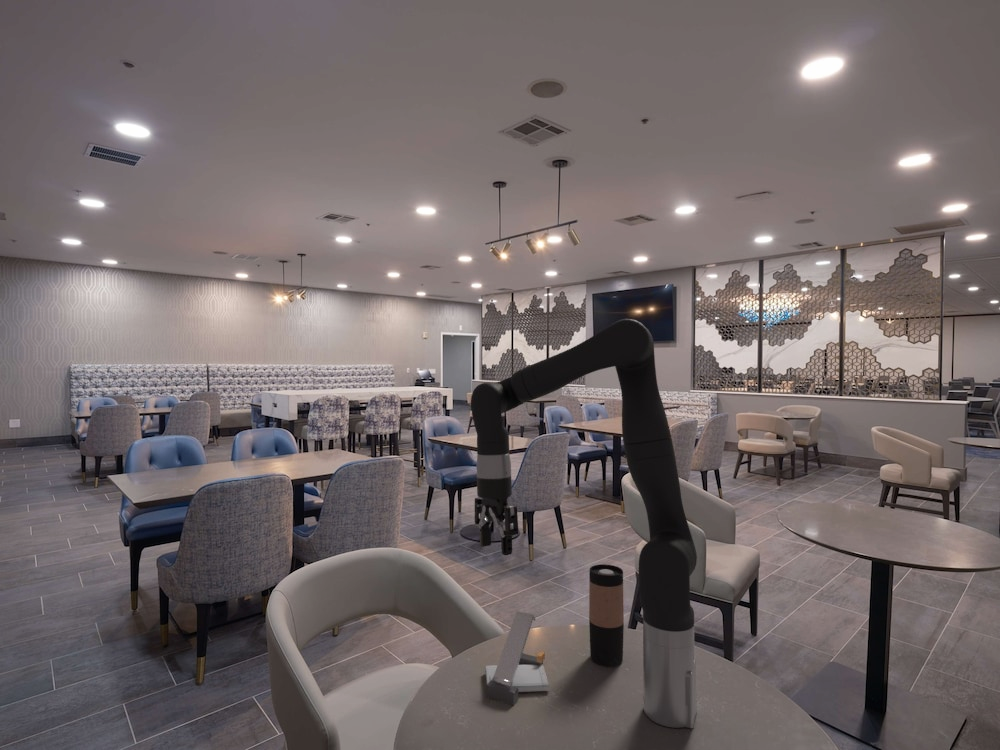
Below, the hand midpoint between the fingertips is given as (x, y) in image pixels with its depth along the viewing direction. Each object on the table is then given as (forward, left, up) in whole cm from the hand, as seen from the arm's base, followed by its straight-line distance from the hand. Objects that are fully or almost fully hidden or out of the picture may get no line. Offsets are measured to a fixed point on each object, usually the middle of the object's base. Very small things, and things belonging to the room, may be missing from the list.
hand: (496, 549), depth 115 cm
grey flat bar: (-6, +2, -20) cm, 20 cm away
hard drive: (-6, +2, -26) cm, 27 cm away
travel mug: (-20, -16, -26) cm, 37 cm away
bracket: (-6, +2, -26) cm, 27 cm away
